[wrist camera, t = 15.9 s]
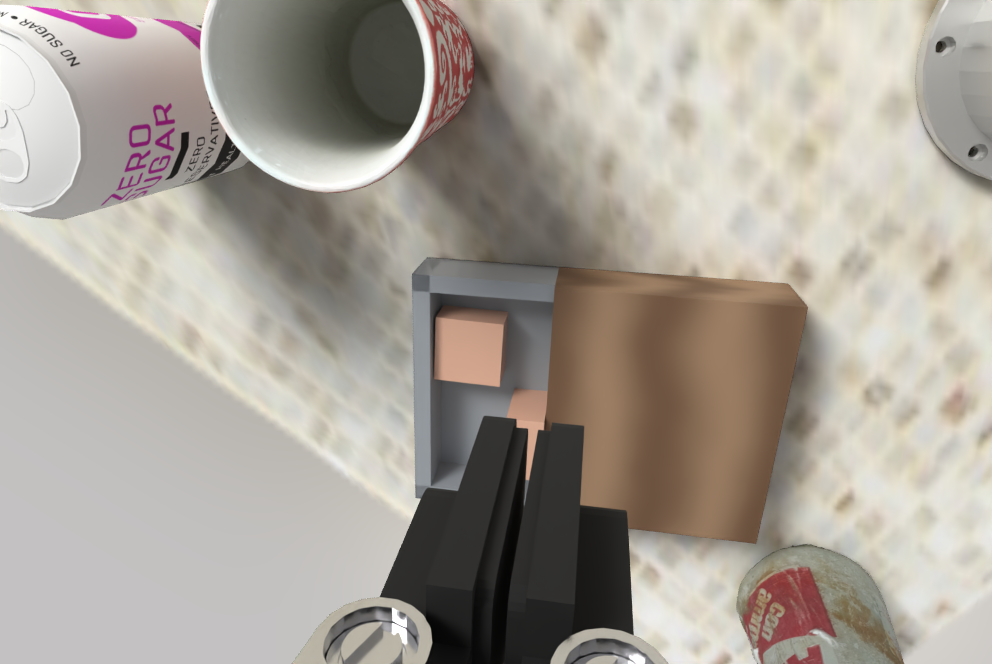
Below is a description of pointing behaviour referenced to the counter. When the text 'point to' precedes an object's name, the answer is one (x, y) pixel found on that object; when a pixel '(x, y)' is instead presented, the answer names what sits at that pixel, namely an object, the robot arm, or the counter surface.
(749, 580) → the bottle
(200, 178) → the supplement can
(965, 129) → the robot arm
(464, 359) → the tile
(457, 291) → the box
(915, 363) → the counter surface
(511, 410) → the tile
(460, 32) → the mug
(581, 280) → the brown square platform
